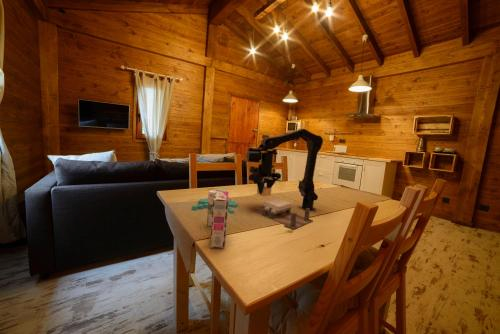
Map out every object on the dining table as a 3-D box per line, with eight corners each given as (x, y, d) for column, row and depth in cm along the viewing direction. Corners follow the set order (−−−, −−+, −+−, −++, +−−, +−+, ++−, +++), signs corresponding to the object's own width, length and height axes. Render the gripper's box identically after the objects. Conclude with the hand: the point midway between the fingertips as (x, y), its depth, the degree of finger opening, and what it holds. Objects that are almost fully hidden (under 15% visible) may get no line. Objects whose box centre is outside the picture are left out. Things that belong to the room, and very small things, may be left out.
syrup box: (225, 224, 92) (227, 190, 89) (218, 229, 86) (221, 193, 84) (213, 221, 93) (215, 188, 91) (206, 226, 88) (207, 191, 86)
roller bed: (268, 205, 121) (269, 194, 120) (312, 221, 102) (314, 209, 101) (247, 210, 109) (248, 199, 109) (293, 230, 91) (294, 216, 90)
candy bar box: (225, 249, 72) (228, 200, 70) (209, 248, 71) (212, 199, 69) (226, 233, 83) (228, 191, 81) (212, 233, 82) (215, 190, 80)
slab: (276, 202, 113) (276, 198, 113) (291, 207, 107) (291, 203, 106) (263, 205, 106) (264, 201, 105) (278, 211, 100) (279, 206, 99)
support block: (263, 192, 115) (264, 186, 115) (270, 195, 112) (271, 188, 111) (256, 194, 112) (257, 187, 111) (264, 196, 108) (264, 189, 108)
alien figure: (233, 215, 103) (239, 203, 122) (233, 211, 102) (239, 199, 122) (191, 211, 105) (204, 199, 124) (191, 206, 104) (204, 195, 124)
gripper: (266, 160, 122) (264, 187, 124) (242, 161, 108) (239, 191, 111) (283, 163, 114) (280, 192, 116) (258, 164, 101) (255, 197, 103)
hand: (264, 193), depth 112 cm, fingers closed on support block, 5 cm apart
